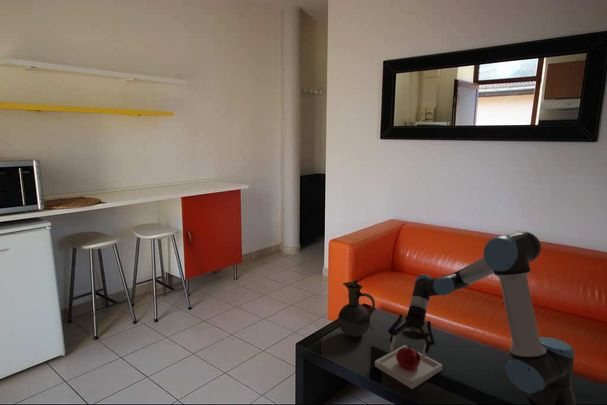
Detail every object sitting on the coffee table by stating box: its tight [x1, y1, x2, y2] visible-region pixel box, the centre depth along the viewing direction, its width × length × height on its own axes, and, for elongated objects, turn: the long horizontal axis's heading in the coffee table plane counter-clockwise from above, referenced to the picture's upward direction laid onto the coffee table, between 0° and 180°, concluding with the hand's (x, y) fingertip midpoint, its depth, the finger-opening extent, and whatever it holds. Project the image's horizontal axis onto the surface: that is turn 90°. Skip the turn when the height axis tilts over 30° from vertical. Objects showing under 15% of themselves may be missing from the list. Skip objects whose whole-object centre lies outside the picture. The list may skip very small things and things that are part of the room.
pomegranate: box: [396, 345, 420, 370], centre depth 166 cm, size 10×10×9 cm
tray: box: [374, 344, 443, 390], centre depth 167 cm, size 20×20×2 cm
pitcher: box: [337, 279, 376, 341], centre depth 190 cm, size 11×19×30 cm, turn 53°
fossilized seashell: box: [407, 324, 429, 335], centre depth 196 cm, size 11×11×7 cm
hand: (406, 355), depth 164 cm, fingers open, 13 cm apart
